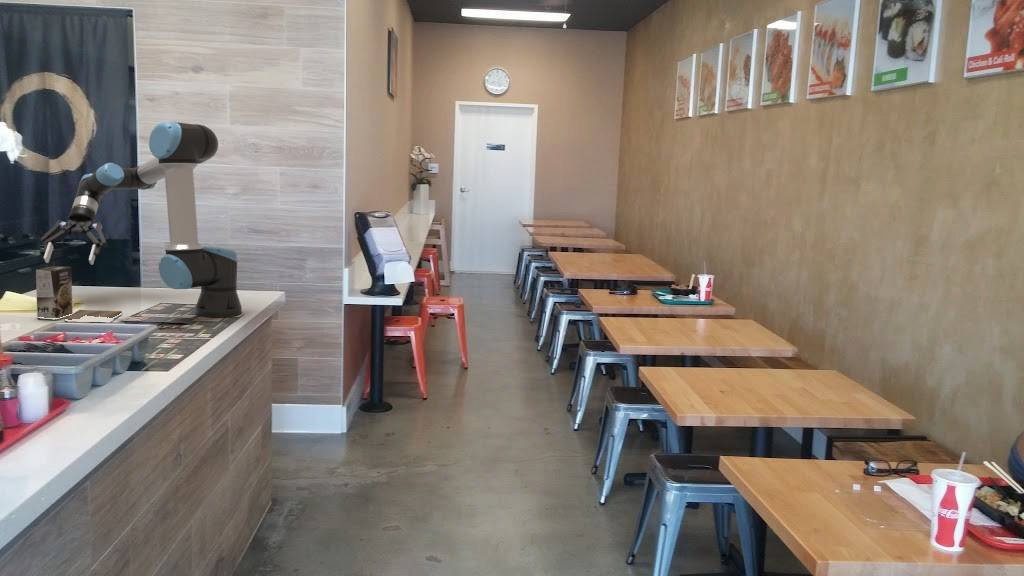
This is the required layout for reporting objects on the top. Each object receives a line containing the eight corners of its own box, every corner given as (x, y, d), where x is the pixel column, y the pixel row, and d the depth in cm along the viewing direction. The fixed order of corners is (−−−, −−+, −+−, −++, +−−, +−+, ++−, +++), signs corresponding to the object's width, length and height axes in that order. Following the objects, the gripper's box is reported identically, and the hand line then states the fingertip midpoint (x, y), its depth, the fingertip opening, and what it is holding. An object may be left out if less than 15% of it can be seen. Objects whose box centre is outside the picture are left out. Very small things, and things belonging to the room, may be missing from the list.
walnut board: (121, 314, 253) (121, 311, 253) (109, 323, 240) (109, 319, 240) (79, 313, 250) (79, 309, 250) (64, 322, 238) (64, 318, 238)
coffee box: (56, 321, 239) (55, 270, 236) (36, 319, 239) (34, 269, 236) (73, 315, 248) (72, 266, 245) (54, 313, 248) (52, 265, 245)
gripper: (124, 221, 269) (111, 269, 257) (47, 217, 264) (30, 266, 252) (119, 207, 263) (106, 256, 251) (40, 203, 258) (23, 252, 246)
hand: (68, 261), depth 251 cm, fingers open, 13 cm apart
